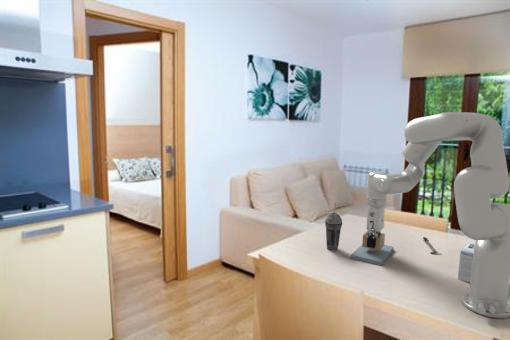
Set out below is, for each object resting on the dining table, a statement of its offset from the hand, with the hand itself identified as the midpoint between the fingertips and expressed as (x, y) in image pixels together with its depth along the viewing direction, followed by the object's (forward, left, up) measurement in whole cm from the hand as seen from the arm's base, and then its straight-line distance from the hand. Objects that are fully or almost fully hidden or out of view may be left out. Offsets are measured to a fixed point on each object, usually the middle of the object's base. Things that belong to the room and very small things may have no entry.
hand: (373, 244), depth 149 cm
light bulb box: (-2, -35, -4) cm, 35 cm away
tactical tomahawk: (+25, -19, -5) cm, 32 cm away
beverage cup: (-4, +16, -4) cm, 17 cm away
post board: (0, 0, -4) cm, 4 cm away
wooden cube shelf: (0, 0, -1) cm, 1 cm away
